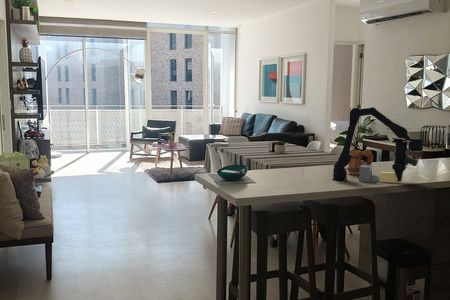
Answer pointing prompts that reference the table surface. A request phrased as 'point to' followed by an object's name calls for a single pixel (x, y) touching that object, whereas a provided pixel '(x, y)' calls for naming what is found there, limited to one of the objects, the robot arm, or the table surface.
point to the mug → (358, 160)
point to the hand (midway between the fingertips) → (399, 180)
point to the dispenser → (367, 174)
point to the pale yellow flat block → (389, 177)
